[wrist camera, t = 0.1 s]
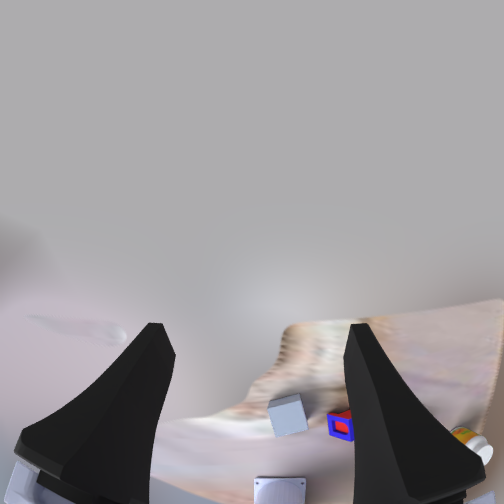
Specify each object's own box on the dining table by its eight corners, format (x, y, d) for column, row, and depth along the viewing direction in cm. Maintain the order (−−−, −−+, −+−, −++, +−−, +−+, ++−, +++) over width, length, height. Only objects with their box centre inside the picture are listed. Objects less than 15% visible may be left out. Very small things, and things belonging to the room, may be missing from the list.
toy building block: (351, 425, 38) (386, 433, 30) (329, 435, 36) (363, 445, 29) (349, 405, 39) (385, 410, 31) (326, 414, 37) (361, 422, 30)
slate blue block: (307, 419, 38) (308, 429, 33) (277, 427, 38) (275, 437, 34) (299, 393, 39) (300, 400, 35) (269, 401, 39) (267, 408, 35)
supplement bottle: (471, 426, 32) (501, 439, 23) (460, 453, 31) (487, 471, 22) (448, 426, 33) (478, 441, 24) (437, 454, 32) (464, 474, 23)
